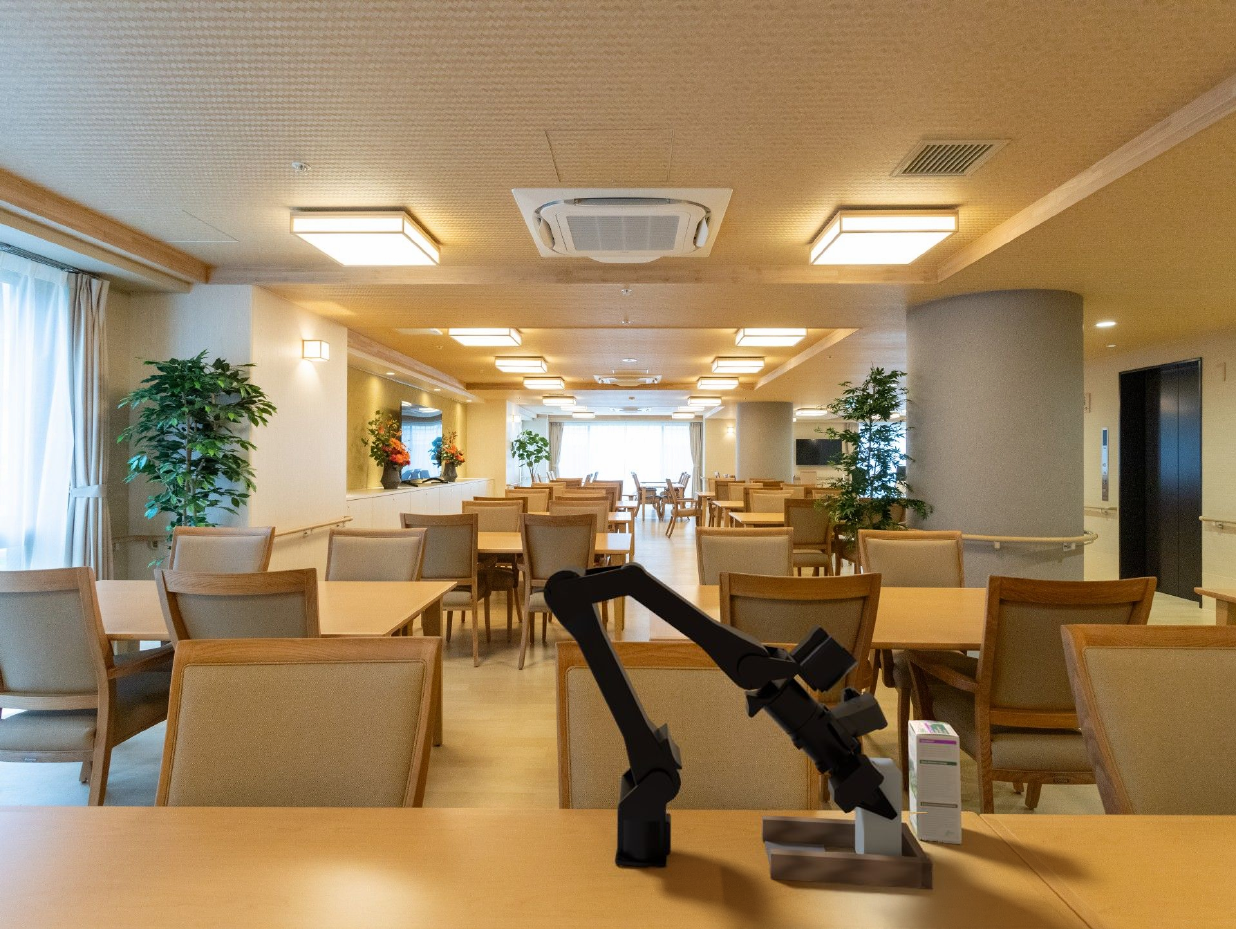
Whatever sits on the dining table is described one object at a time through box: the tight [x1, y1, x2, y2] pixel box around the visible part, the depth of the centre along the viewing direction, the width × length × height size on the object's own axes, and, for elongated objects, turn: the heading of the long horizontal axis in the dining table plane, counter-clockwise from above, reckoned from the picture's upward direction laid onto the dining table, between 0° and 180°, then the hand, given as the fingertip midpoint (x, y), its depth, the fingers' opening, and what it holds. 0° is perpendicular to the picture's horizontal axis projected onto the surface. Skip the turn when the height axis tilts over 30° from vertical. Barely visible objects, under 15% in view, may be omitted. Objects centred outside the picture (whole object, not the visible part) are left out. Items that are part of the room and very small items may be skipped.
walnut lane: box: [761, 814, 934, 890], centre depth 88 cm, size 19×10×3 cm, turn 85°
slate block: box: [854, 756, 903, 856], centre depth 88 cm, size 4×4×12 cm
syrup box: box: [907, 719, 963, 845], centre depth 96 cm, size 6×6×14 cm
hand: (889, 808), depth 88 cm, fingers closed on slate block, 4 cm apart
